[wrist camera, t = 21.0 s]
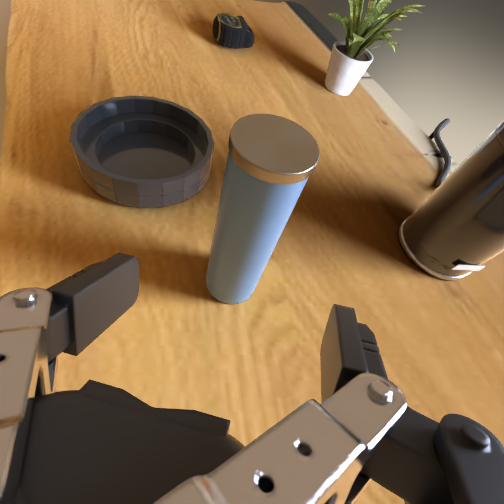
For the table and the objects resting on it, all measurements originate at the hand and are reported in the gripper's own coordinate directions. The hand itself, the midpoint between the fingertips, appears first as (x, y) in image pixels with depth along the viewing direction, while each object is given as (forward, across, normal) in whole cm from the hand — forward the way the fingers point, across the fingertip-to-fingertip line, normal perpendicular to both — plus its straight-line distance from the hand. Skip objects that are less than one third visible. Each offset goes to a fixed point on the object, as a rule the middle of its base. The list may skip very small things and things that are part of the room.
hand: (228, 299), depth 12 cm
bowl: (+24, +16, -1) cm, 29 cm away
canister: (+15, +3, +7) cm, 17 cm away
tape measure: (+55, +17, -20) cm, 61 cm away
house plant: (+54, -4, -15) cm, 56 cm away
